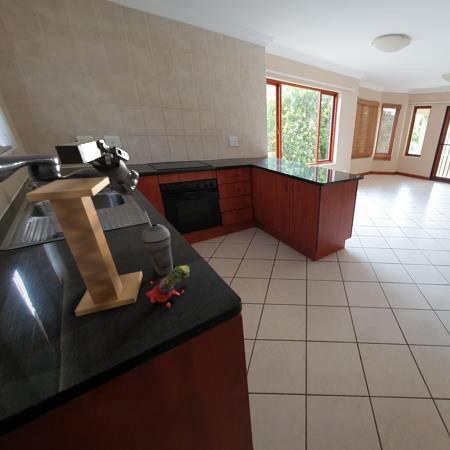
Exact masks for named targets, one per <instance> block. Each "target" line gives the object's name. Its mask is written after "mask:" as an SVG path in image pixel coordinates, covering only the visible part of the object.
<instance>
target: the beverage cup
mask: <svg viewBox="0 0 450 450" xmlns="http://www.w3.org/2000/svg"><path fill="white" fill-rule="evenodd" d="M143 213H144V215H145V217H146V220H147V222H148V224H149V225H148V226H146V227H145V228H144V229H143V231H142V235H141V241H142V243H143V244H144V246H145V248H146V251H147V252H148V255H149V257H150V260H151V262H152V265H153V267H154V269H155V272H156V274H157V275H158V276H159V275H160V276H163V275H168V274H169V273H170V272H172V271H173V270H174V263H173V254H172V247H171V233H170V231H169V229H168V228H167V227H166V226H165V225H162V224H159V223H152V222H151V220H150V218H149V215H148V213H147V211H146V210H144V211H143Z"/></svg>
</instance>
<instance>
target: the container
mask: <svg viewBox="0 0 450 450" xmlns="http://www.w3.org/2000/svg"><path fill="white" fill-rule="evenodd" d="M41 203H42V206H43V208H44V211H45V213H46V215H47V217H48V220H49V222H50V224H51V227H52V229H53V232H54V233H55V235H56V237H65V236H64V233H63V231H62V229H61V226H60V224H59V222H58V219H57V217H56V215H55V212H54V210H53V208H52V205H51V203H50V201H49V200H43V201H41Z"/></svg>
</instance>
